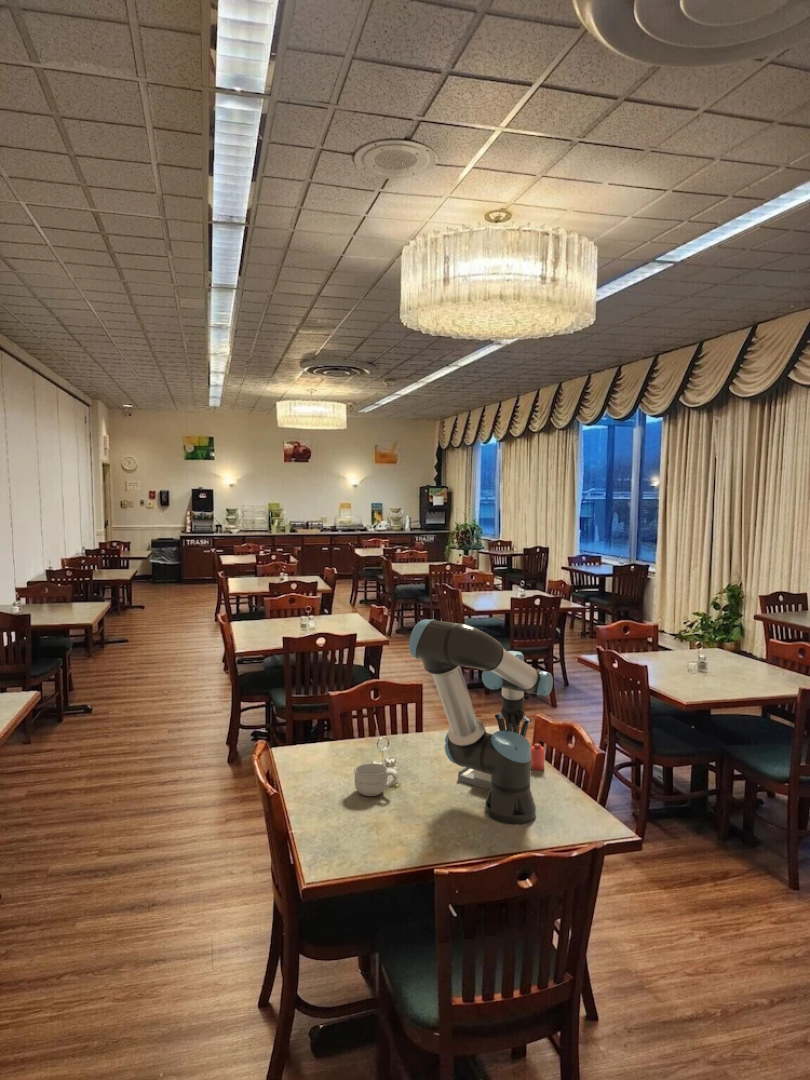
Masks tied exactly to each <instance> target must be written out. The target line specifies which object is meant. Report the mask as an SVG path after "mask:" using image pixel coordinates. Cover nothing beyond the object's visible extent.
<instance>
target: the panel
mask: <svg viewBox="0 0 810 1080" xmlns="http://www.w3.org/2000/svg"><path fill="white" fill-rule="evenodd" d="M457 773H458V774H457V781H459V782H462V783H465V784H468V785H469V784H470V785H473V786H475V787H476V786H477V787H479V788H483V789H486V790H490V788H491V782H489V781H485V780H482V779H478V778H475V777H474V769H470V768H466V767H462V768H461V769H460V770H459V771H457Z"/></svg>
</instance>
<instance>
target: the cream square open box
mask: <svg viewBox="0 0 810 1080" xmlns="http://www.w3.org/2000/svg"><path fill="white" fill-rule="evenodd" d="M474 777H475V778H478V779H482V780H485V781H489V782H491V775H490V774H487V773H484V772H481V771H477V770H474Z"/></svg>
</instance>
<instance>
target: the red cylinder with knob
mask: <svg viewBox="0 0 810 1080" xmlns="http://www.w3.org/2000/svg"><path fill="white" fill-rule="evenodd" d="M530 750H531V768H530V769H531V770H534V771H542V770H544V769H545V747H544V746H542V745H541V743H534V744H533V745H532V746H531V745H530Z"/></svg>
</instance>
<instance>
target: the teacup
mask: <svg viewBox="0 0 810 1080" xmlns="http://www.w3.org/2000/svg"><path fill="white" fill-rule="evenodd" d="M353 772H354V786H355V789H356V791H358V792H359V793H360V794H361V795H362V796H366V797H375V796H376V797H377V796H379V795H381V793H383V792H384V791H385V790H387V789H389V787H392V786H393V785H394V784H395V783H396V782H397V779H398V778H397V775H396V774H397V773H395V772H393V770H392V771H391V770H390V771H388V767H387V766H386V765H384V764H380V763H374V762H372V763H363V764H360V765H357V766H355V768H354V769H353ZM389 776H392V777H393V778H392V781H390V782H389V783H388V778H389Z"/></svg>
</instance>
